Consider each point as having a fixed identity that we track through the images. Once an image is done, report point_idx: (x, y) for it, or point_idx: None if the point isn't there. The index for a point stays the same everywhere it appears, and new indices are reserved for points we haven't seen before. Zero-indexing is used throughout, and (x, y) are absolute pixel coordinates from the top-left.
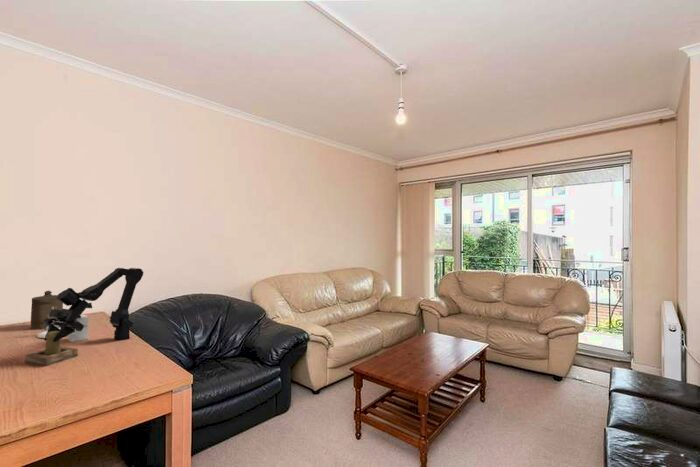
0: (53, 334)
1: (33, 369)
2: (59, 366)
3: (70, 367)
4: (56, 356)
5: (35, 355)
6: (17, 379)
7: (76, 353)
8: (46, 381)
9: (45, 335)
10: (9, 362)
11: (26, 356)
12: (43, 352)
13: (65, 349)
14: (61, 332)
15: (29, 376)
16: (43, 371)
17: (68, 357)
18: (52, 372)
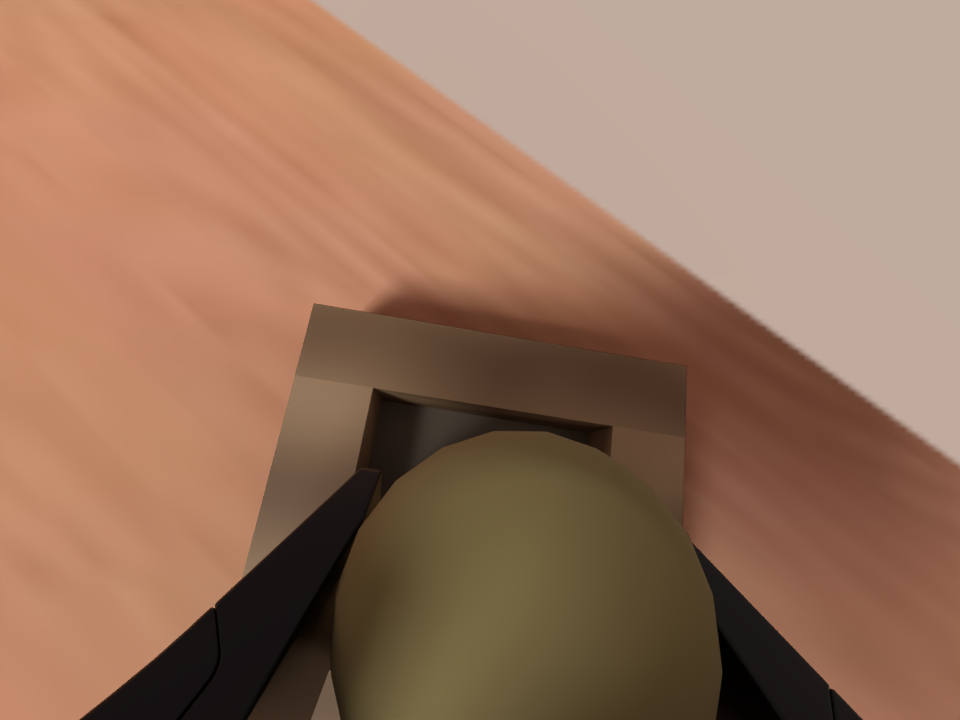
0: (388, 517)
1: (388, 255)
2: (190, 348)
3: (37, 336)
4: (289, 420)
5: (550, 371)
6: (311, 72)
7: None
8: (18, 48)
9: (627, 470)
10: (803, 382)
11: (657, 366)
12: None
13: None
14: (142, 686)
15: (268, 123)
16: (243, 222)
17: None
18: (130, 209)
